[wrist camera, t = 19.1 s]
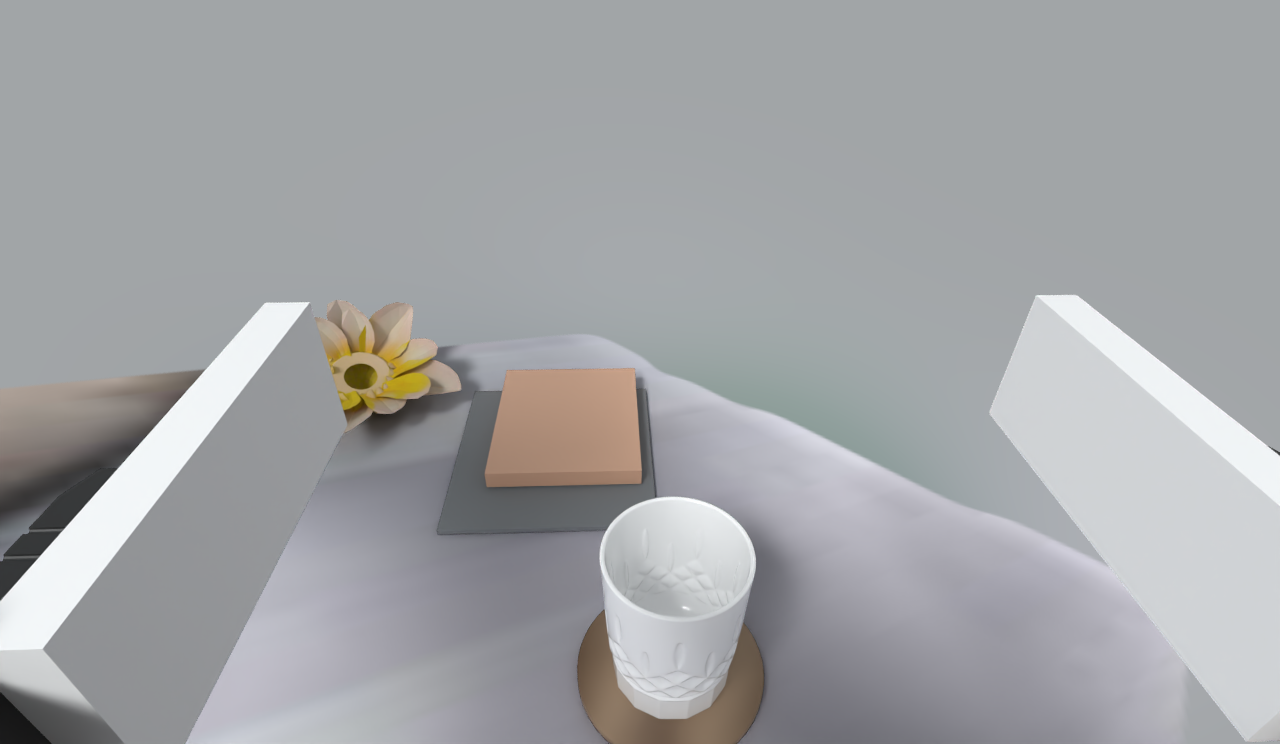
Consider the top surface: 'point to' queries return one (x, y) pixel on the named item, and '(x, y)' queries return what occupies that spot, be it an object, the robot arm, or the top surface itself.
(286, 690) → the top surface
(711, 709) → the coaster
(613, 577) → the white cup
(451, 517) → the mat
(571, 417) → the tile
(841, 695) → the top surface
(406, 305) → the decorative flower
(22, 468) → the top surface
